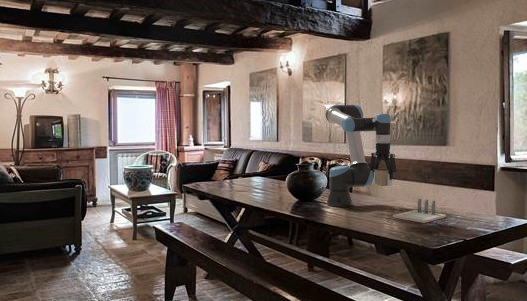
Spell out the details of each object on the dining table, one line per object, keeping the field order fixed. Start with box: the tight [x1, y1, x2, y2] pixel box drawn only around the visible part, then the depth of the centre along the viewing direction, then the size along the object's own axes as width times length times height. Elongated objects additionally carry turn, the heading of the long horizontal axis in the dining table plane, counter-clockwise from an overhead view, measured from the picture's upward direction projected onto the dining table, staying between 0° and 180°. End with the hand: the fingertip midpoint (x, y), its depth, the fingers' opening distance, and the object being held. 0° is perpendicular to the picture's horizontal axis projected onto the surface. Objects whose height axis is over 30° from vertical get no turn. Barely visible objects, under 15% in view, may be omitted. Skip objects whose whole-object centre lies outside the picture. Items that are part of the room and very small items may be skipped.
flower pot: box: [374, 168, 389, 187], centre depth 233 cm, size 9×9×9 cm
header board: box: [392, 198, 447, 224], centre depth 223 cm, size 18×20×8 cm
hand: (382, 184), depth 233 cm, fingers closed on flower pot, 8 cm apart
